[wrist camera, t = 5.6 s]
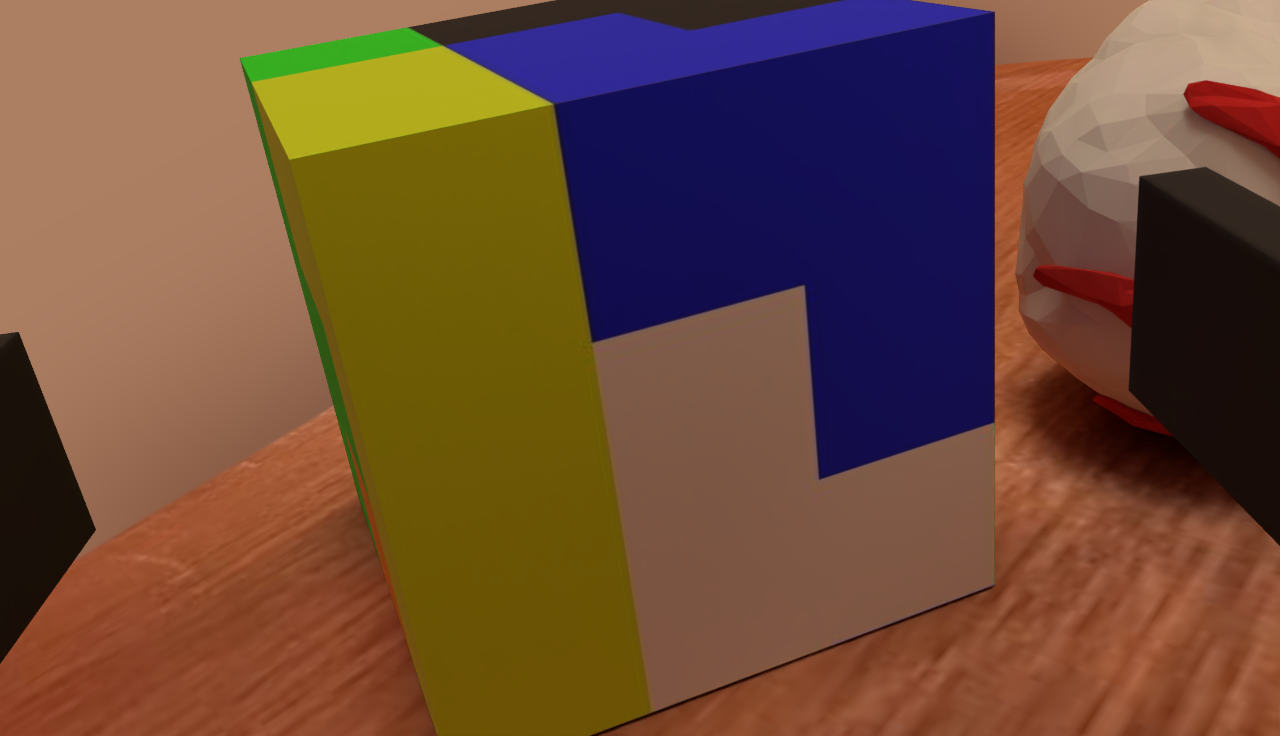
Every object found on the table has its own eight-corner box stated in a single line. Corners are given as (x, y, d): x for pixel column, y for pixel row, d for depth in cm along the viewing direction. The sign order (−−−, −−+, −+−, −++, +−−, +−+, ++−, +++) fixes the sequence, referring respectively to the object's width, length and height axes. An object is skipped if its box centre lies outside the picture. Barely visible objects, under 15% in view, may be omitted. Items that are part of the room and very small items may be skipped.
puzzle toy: (994, 584, 21) (994, 12, 17) (454, 786, 18) (288, 159, 14) (749, 382, 29) (708, -28, 25) (358, 497, 27) (239, 57, 22)
